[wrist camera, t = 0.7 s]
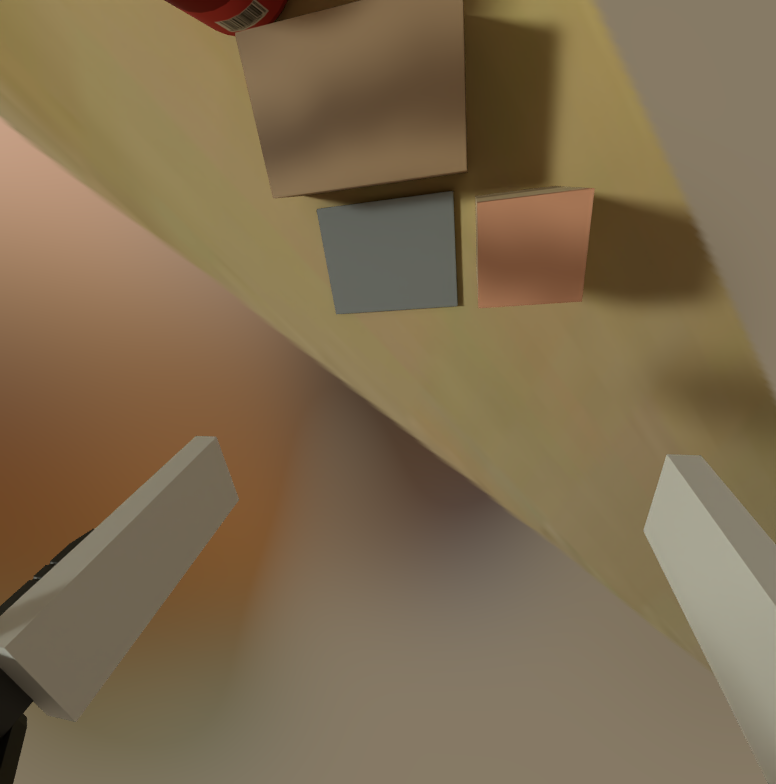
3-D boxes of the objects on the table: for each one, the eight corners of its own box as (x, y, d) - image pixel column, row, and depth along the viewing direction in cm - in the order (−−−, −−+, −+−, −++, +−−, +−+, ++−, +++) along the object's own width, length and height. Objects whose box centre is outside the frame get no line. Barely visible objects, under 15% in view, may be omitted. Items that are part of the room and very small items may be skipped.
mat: (318, 208, 29) (316, 209, 28) (453, 190, 27) (452, 191, 26) (337, 312, 32) (336, 314, 32) (457, 304, 30) (457, 305, 30)
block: (475, 196, 26) (477, 202, 18) (552, 186, 25) (594, 188, 17) (476, 270, 29) (478, 308, 20) (547, 264, 28) (581, 301, 19)
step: (275, 58, 25) (234, 32, 21) (463, 14, 22) (462, -26, 18) (303, 195, 29) (273, 198, 24) (467, 172, 26) (466, 170, 22)
